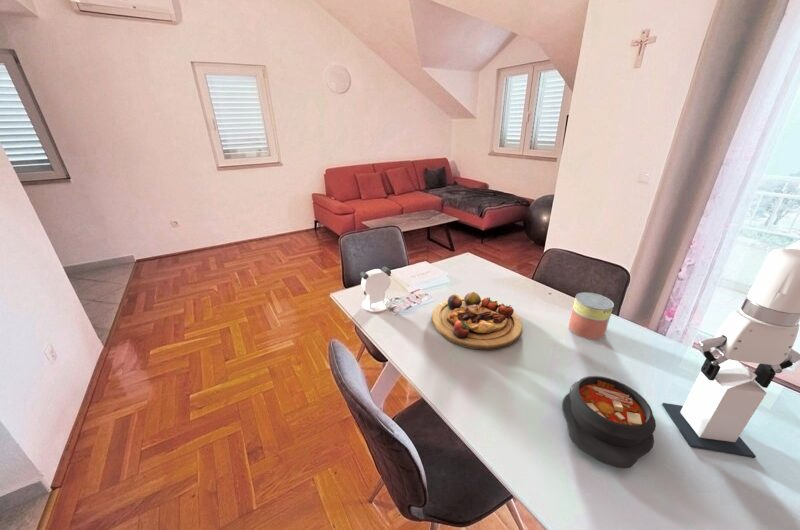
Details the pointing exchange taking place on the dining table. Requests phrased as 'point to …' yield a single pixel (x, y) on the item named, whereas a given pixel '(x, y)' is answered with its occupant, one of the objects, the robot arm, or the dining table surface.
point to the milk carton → (723, 402)
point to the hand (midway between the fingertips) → (732, 379)
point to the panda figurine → (375, 289)
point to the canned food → (590, 315)
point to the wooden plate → (477, 322)
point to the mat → (704, 443)
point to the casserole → (609, 421)
